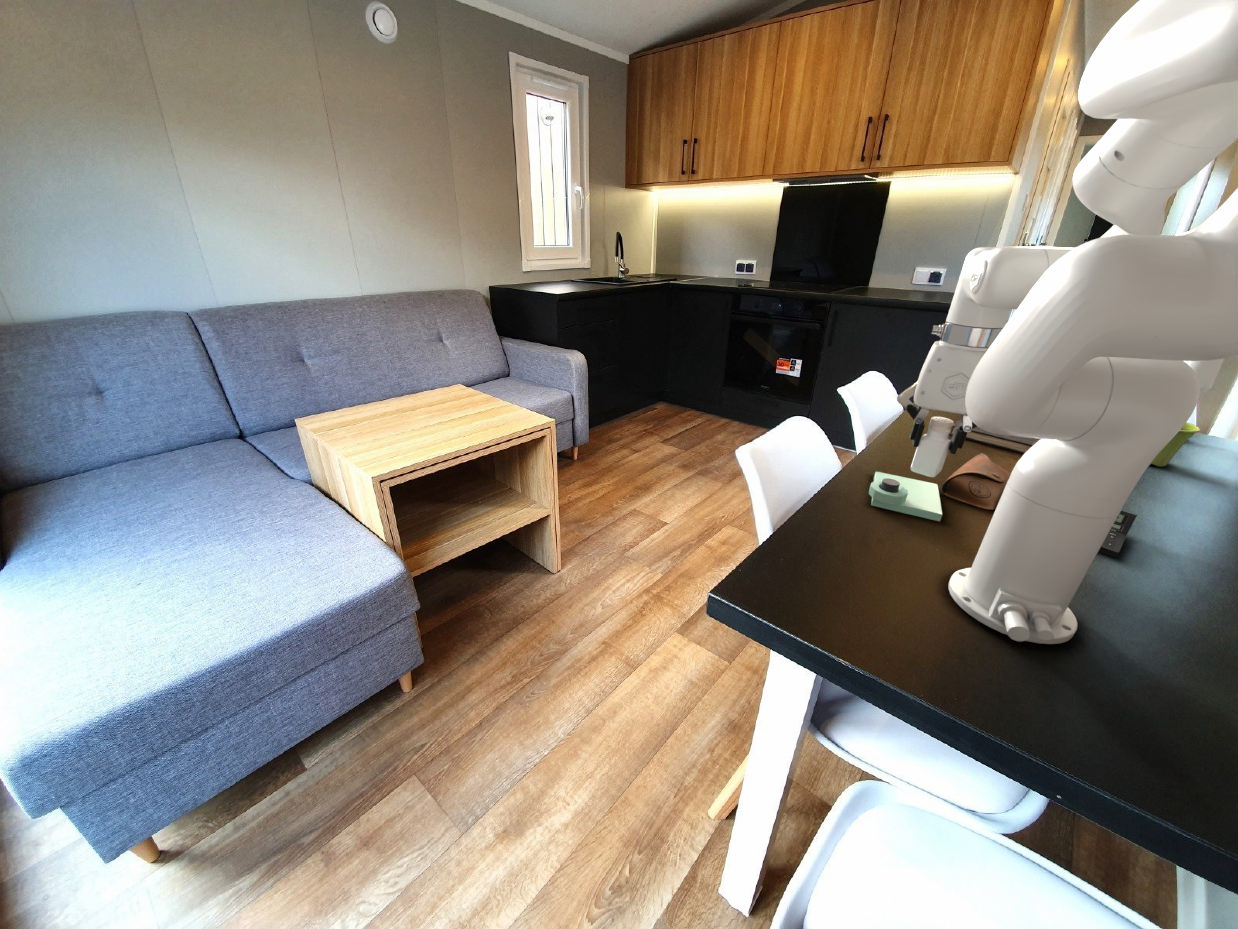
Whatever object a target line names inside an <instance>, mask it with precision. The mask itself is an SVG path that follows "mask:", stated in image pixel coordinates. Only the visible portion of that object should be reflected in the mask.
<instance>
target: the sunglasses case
mask: <svg viewBox="0 0 1238 929" xmlns="http://www.w3.org/2000/svg"><path fill="white" fill-rule="evenodd" d="M1010 475H1011V472H1009V471H1007V470H1006V469H1005V468H1003V467H1001V466H999V465H998V464H996V462H994V461H992V460H991V459H990V457H988V455H986V453H983V452H981V453H978V454H976V455H975V456H973V458H971V459H969V460H968V461H966V463H963V465H962V466H960V467H959V468H958V469H957V470H955V471H954V472H953V473H952V474H951V475H949V477H948V478H947V479H946V480H945V481H944V482H943V483H942V485H941V491H942V494H943V495H944V496H945V497H947V498H949V499H952V500H956V501H958V502H961V503H964V504H968V505H970V506H974V507H977V508H979V509H984V510H987V511H988V510H989V511H994V510H995V509H996V508H997V505H998V503H999V501H1000V498H1001V496H1002V493H1003V491H1004V489H1005V486H1006V484H1007V482H1008V480H1009V477H1010Z"/></svg>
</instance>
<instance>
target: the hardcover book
mask: <svg viewBox="0 0 1238 929" xmlns="http://www.w3.org/2000/svg"><path fill="white" fill-rule="evenodd" d="M960 423H961V418H960V419H959V420H958V421H956V422H955V423H953V426H952V430H951V432H950V433H949V435H950V436H953V433H954V431H955V428H956V427H957V426H958V425H959V424H960ZM965 440H969V441H973V442H977V443H980V444H984V445H988V446H992V447H996V448H999V449H1004V450H1007V451H1012V452H1015V453H1019V454H1022V455H1024V453H1025V452H1027V451H1028V450H1029V449H1030V448H1031V447H1032V446H1033V445H1034V444H1035V443H1037V442H1038V441H1039V440H1040V439H1038V438H1026V437H1015V436H1006V435H999V434H994V433H991V432H988V431H985V430H983V429H981V428H979V427H978V426H977V427H975V428H973V429H972V430H971V431H970V432H968V433H967V436H966V438H965Z"/></svg>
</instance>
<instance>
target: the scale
mask: <svg viewBox="0 0 1238 929" xmlns="http://www.w3.org/2000/svg"><path fill="white" fill-rule="evenodd" d="M885 478H889V479H894V480H896V481H898V482H899V483H900V486H899V489H898V492H897V493H891V492H886V491H884V490H882V489H881V488H880V487H881V483H882V480H883V479H885ZM868 495H869V496H870V497H871V504H870V506H872V507H875V508H880V509H884V510H890V511H893V512H898V513H901V514H906V515H910V516H915V517H918V518H923V519H927V520H931V521H935V522H941V520H942V518H943V509H942V503H941V497H940V491H939V486H938V483H934V482H930V481H929V482H928V481H925V480H919V479H915V478H909V477H905V476H900V475H897V474H890V473H885V472H882V471H876V470H875V472H874V476H873V481H872V482H871V483H870V486H869V490H868Z"/></svg>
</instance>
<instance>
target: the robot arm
mask: <svg viewBox="0 0 1238 929" xmlns="http://www.w3.org/2000/svg"><path fill="white" fill-rule="evenodd" d="M1078 86H1079V87H1078V96H1077V97H1078V102H1079V108H1080V109H1081V111H1082V112H1083V113H1084V114H1085V115H1086V116H1088V117H1091V118H1093V119H1099V120H1100V119H1102V120H1116V121H1114V123H1113V124H1112V125H1111V126H1110V127H1109V129H1108V130H1107V131H1106V132H1105V133H1104V134H1103V135H1102V136H1101V138H1100V139H1099V140H1098V141H1097V142H1096V143H1095V145H1094V146H1092V148H1090V150H1088V152H1087V153H1086V154H1085V155H1084V156H1083V158H1082V159H1081V160H1080V161H1079V163H1077V165H1076V166H1075V169H1074V172H1073V174H1072V188H1073V191H1074V194H1075V196H1076V197H1077V199H1078V200H1079V201H1080V203H1081V204H1083V206H1084V207H1086V209H1088V210H1089V211H1090V212H1092V213H1093V214H1095V215H1097V216H1098V217H1099V218H1101V219H1103V220H1105V221H1106V222H1109V223H1110V224H1112V226H1111V227H1110V228H1109V229H1108V230H1107V231H1106V232H1105V233H1104V234H1102V235H1101V236H1100V237H1098V238H1095V239H1091V240H1089V241H1086V242H1084V243H1082V244H1079V245H1077V246H1076V247H1062V246H1061V247H1060V246H1058V247H1057V246H1019V245H1018V246H1017V245H1011V246H1009V245H1008V246H980V247H975V248H973V249H971V250H970V251H969V252H968V254H967V255H966V256H965V260H964V262H963V265H962V267H961V268H962V269H961V271H960V274H959V278H958V281H957V284H956V286H955V290H954V294H953V297H952V300H951V304H950V307H949V309H948V314H947V316H946V319H945V321H944V322H943V323H942V324H939V325H935V324H934V325H933V326H932V328H931V332H930V334H931V335H935V336H937V337H939V340H936V341H934V343H933V344H932V346H931V348H930V350H929V351H928V354H927V356H926V358H925V360H924V362H923V365H922V368H921V370H920V372H919V375H918V377H917V381H916V382H914V383H913V384H912V385H911V386H909V387H908V388H906V389H905V390H903V391H902V392H901V393H900V394H898V395H896V396H897V397H896V401H897V403H899V405H900V406H902V407H903V409H905V411H906V412H907V413H908V414H909V416H910V417H911V418H912V420H913V425H912V427H911V431H910V433H909V440H910V441H912V447H914V448H917V447H918V446H919V443H920V439H921V437H922V436H923V433H924V430H925V426H926V425H925V424H926V423H925V419H926V417H927V416H928V414H929V413H930V412H931V410H933V411H937V412H938V411H939V412H946V413H953V414H959V415H960V419H961V423H960V424H959V425H958V426H957V427H956V428H955V431H954V433H953V435H951V436H952V437H951V439H950V440H951V441H952V442H951V445H950V448H949V453H950V454H952V455H956V453H957V451H958V449H959V450H961V449H963V447H964V443H965V442H966V439H965V438H966V436H967V433H968V432H970V431H971V430H972V429H973V428H975V427H977V426H978V427H979V428H981V429H983V430H985V431H988V432H991V433H994V434H999V435H1006V436H1015V437H1026V438H1038V439H1040V440H1039V441H1038V442H1037V443H1035V444H1034V445H1033V446H1032V447H1031V448H1030V449H1029V450H1028V451H1027V452H1025V453H1024V454H1022V456H1021V457H1020V458H1019V459H1018V460H1017V462H1016V463H1015V465H1014V467H1013V468H1012V471H1011V472H1010V474H1011V475H1010V477H1009V480H1008V482H1007V484H1006V486H1005V489H1004V491H1003V493H1002V496H1001V498H1000V499H999V501H998V503H997V505H996V507H995V509H994V510H995V511H994V512H993V514H992V517H991V520H990V522H989V524H988V527H987V529H986V532H985V534H984V536H983V538H982V541H981V543H980V545H979V548H978V551H977V553H976V555H975V557H974V560H973V562H972V565H971V567H965V568H962V569H958V570H956V571H955V572H954V573H953V574H951V576H950V578H949V581H948V584H947V585H948V588H947V589H948V591H949V595H950V596H951V598H952V599H953V601H954V602H955V603H956V604H957V606H959V607H960V608H961V609H962V610H963V611H964V612H965V613H966V614H968V615H969V616H970V617H972V618H973V619H975V620H976V621H978V622H979V623H980V624H983V625H985V626H987V627H988V628H990V629H992V630H994V631H996V632H998V633H1001V634H1003V635H1006V636H1007V637H1009V638H1010V639H1011V640H1013V641H1016V642H1029V643H1035V644H1039V645H1040V644H1043V645H1044V644H1045V645H1056V644H1057V645H1058V644H1062V643H1066V642H1069V641H1070V640H1071V639H1072V638H1073V637H1074V635H1075V633H1076V632H1077V630H1078V627H1079V626H1078V621H1077V617H1076V616H1075V615H1074V612H1073V611H1072V610H1071V609H1070V608H1069V606H1070V604H1071V602H1072V600H1073V598H1074V596H1075V595H1076V593H1077V591H1078V589H1079V588H1080V585H1081V584H1082V582H1083V580H1084V578H1085V577H1086V575H1087V573H1088V571H1089V569H1090V567H1091V566H1092V564H1093V562H1094V561H1095V558H1096V556H1097V555H1098V554H1099V552H1098V551H1099V549H1100V547H1101V545H1102V544H1103V542H1104V540H1105V538H1106V536H1107V535H1108V533H1109V531H1110V529H1111V527H1112V525H1113V524H1114V522H1115V520H1116V518H1117V516H1118V515H1119V513H1120V512H1121V511H1123V508H1124V506H1125V504H1126V503H1127V501H1128V499H1129V498H1130V496H1131V494H1132V492H1133V491H1134V489H1135V487H1136V485H1137V484H1138V482H1139V481H1140V479H1141V477H1142V476H1143V474H1144V473H1145V471H1146V470H1147V469H1148V468H1149V466H1150V465H1152V464H1151V462H1152V461H1153V460H1154V458H1155V457H1156V456H1157V455H1158V454H1159V453H1160V451H1161V450H1162V449H1163V448H1164V447H1165V446H1166V445H1167V444H1168V443H1169V442H1170V441H1171V440H1172V439H1173V437H1174V436H1175V435H1176V434H1177V433H1178V432H1179V431H1180V430H1181V428H1182V427H1183V426H1184V425H1185V423H1186V422H1187V423H1188V421H1189V419H1190V417H1191V416H1192V415H1193V413H1194V411H1195V409H1196V407H1197V405H1198V402H1199V399H1200V398H1199V397H1200V394H1199V389H1200V388H1199V382H1198V378H1197V376H1196V374H1195V372H1194V371H1193V369H1192V368H1191V367H1190V366H1189V365H1188V364H1187V363H1186V362H1184V361H1208V360H1217V359H1223V358H1224V359H1226V358H1230V357H1231V358H1232V357H1233V356H1236V355H1238V187H1237V188H1235V190H1234V191H1233V193H1232V194H1230V195H1229V197H1228V198H1227V199H1226V200H1225V201H1223V203H1222V204H1221V205H1220V206H1219V207H1218V208H1217V209H1216V210H1215V211H1214V212H1213V213H1212V214H1211V215H1210V216H1208V218H1206V219H1205V220H1204V221H1203V222H1202V223H1200V224H1199V225H1198V226H1196V227H1194V228H1193V229H1191V230H1189V231H1186V232H1183V233H1180V234H1175V235H1173V234H1172V235H1171V234H1169V235H1168V234H1161V233H1162V231H1163V228H1164V224H1165V218H1166V201H1167V200H1169V198H1170V197H1172V196H1173V195H1174V194H1175V193H1176V192H1177V191H1178V190H1180V189H1181V188H1183V187H1184V186H1185V185H1186V184H1187V183H1188V182H1190V181H1191V180H1192V179H1193V178H1194V177H1195V176H1196V175H1198V173H1200V172H1201V171H1202V170H1203V169H1204V168H1206V167H1207V166H1208V165H1209V164H1210V163H1211V162H1212V161H1214V160H1215V159H1216V158H1217V157H1219V155H1221V154H1222V153H1223V152H1224V151H1226V150H1227V149H1228V148H1229V147H1230V146H1231V145H1232V144H1233V143H1234V142H1236V141H1237V140H1238V0H1138V1H1137V2H1136V3H1135V4H1134V5H1132V6H1131V7H1130V8H1129V10H1127V11H1126V12H1125V13H1124V14H1123V15H1122V16H1121V17H1119V19H1118V20H1117V21H1116V22H1115V24H1114V25H1113V26H1112V27H1111V28H1110V29H1109V31H1107V33H1106V34H1105V36H1104V37H1103V38H1102V39H1101V41H1100V42H1099V44H1098V45H1097V46H1096V48H1095V50H1094V51H1093V53H1092V55H1091V56H1090V58H1089V60H1088V61H1087V64H1086V66H1085V68H1084V71H1083V74H1082V76H1081V78H1080V82H1079V85H1078ZM1013 310H1015V311H1014V313H1013V314H1012V311H1013ZM1011 314H1012V315H1011ZM1010 316H1011V317H1010ZM912 397H913V402H912V401H911V398H912ZM917 406H918V407H917Z"/></svg>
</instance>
